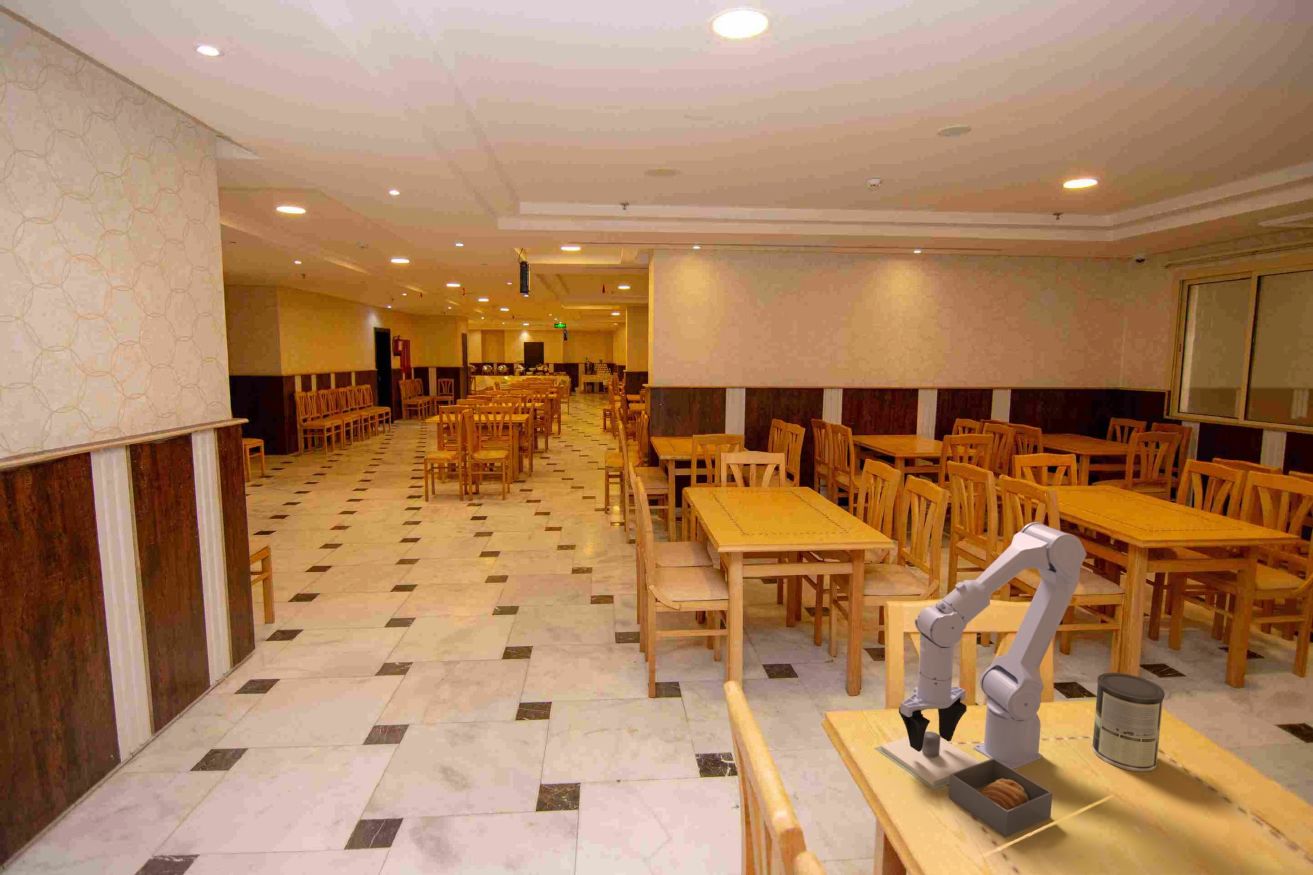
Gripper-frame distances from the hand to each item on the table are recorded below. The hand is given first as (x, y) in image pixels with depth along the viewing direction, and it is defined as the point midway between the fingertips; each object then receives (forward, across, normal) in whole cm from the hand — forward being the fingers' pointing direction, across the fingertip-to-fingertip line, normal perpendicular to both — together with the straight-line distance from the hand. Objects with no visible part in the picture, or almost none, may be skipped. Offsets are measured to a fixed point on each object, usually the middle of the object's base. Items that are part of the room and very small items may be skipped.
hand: (930, 743), depth 128 cm
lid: (+3, 0, 0) cm, 3 cm away
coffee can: (+3, -34, +15) cm, 37 cm away
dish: (+3, +1, +15) cm, 15 cm away
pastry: (+4, 0, +15) cm, 16 cm away
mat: (+3, 0, 0) cm, 3 cm away
